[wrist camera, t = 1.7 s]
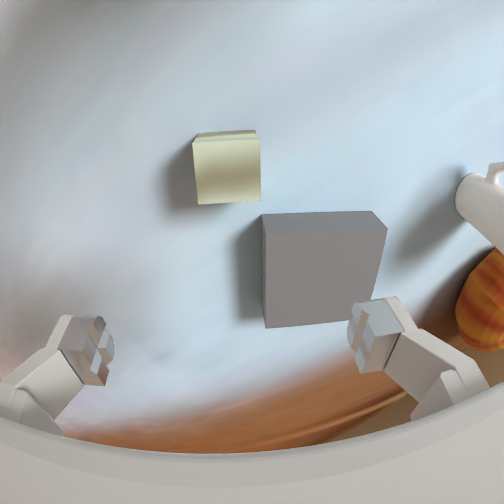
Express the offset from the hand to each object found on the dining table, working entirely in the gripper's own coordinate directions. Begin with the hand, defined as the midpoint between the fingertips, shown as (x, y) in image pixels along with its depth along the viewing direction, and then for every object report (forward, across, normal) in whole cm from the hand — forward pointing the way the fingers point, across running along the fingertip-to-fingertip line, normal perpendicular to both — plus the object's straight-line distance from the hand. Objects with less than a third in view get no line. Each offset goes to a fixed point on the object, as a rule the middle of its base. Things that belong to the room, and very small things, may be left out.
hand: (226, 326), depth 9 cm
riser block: (+20, -9, +12) cm, 25 cm away
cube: (+21, 0, 0) cm, 21 cm away
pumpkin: (+21, -42, +19) cm, 50 cm away
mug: (+21, -30, +2) cm, 36 cm away
